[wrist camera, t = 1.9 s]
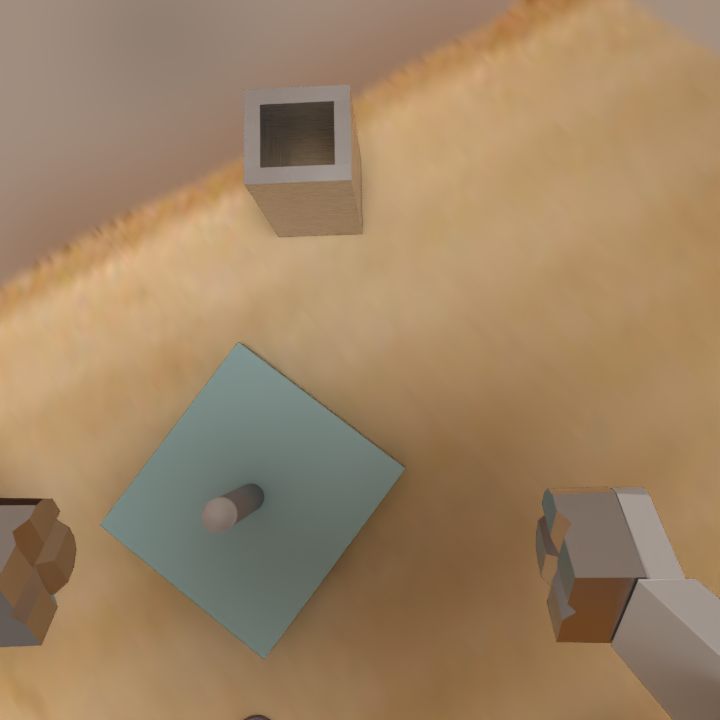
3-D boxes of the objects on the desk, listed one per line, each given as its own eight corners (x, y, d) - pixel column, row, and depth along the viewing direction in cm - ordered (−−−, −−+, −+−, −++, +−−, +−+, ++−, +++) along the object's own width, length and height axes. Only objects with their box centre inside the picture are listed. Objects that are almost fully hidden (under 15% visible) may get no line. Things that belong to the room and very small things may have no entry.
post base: (242, 344, 34) (203, 326, 27) (405, 467, 33) (406, 481, 26) (108, 521, 34) (33, 549, 27) (267, 652, 33) (233, 715, 26)
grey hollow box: (362, 233, 35) (351, 179, 27) (279, 236, 35) (244, 184, 27) (360, 159, 35) (349, 84, 27) (278, 163, 35) (243, 89, 27)
